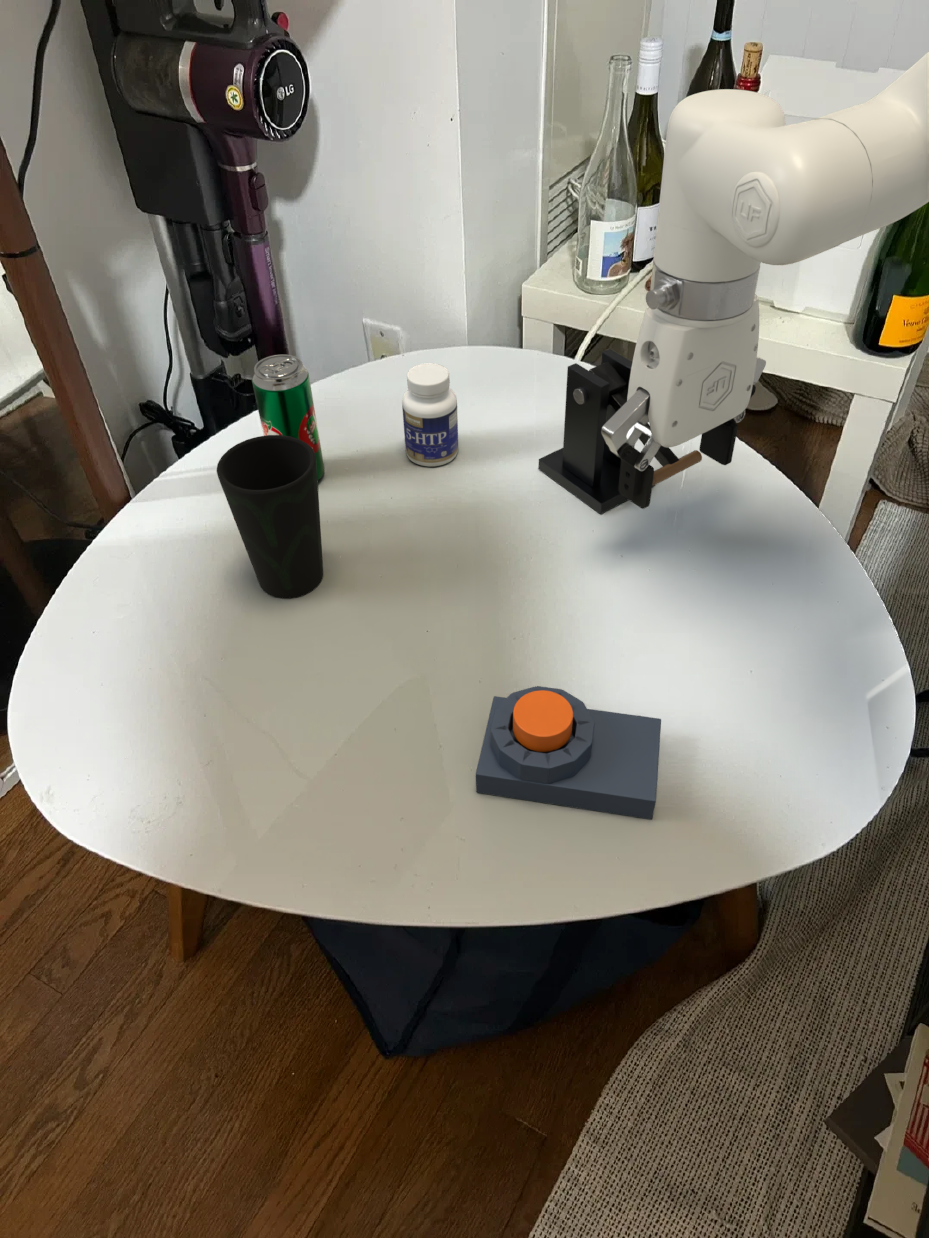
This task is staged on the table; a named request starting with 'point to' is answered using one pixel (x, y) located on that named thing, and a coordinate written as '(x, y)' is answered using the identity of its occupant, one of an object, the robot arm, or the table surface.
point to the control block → (574, 760)
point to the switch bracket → (588, 438)
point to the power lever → (663, 454)
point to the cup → (276, 511)
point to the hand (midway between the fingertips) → (675, 478)
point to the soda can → (287, 401)
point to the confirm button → (542, 721)
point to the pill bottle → (430, 416)
